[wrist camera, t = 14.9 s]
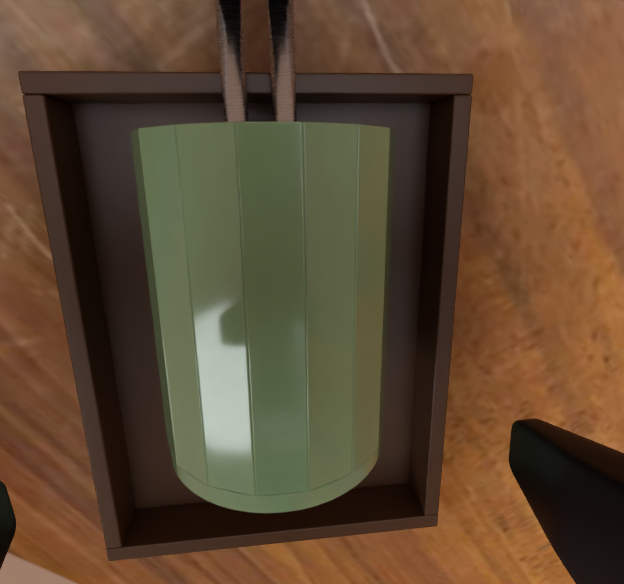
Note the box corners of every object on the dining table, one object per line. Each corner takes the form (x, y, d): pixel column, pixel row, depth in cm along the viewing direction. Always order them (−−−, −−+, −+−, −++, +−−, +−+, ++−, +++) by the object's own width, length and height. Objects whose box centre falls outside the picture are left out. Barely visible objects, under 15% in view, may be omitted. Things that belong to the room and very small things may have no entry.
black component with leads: (312, 384, 16) (314, -164, 8) (238, 390, 15) (174, -171, 8) (301, 320, 19) (296, -108, 12) (241, 324, 19) (197, -113, 11)
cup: (426, 460, 13) (451, 127, 11) (206, 555, 10) (161, 114, 7) (316, 372, 19) (314, 141, 16) (153, 415, 16) (117, 137, 13)
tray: (417, 484, 21) (437, 526, 18) (126, 512, 19) (107, 561, 17) (442, 87, 16) (474, 73, 13) (56, 86, 14) (16, 70, 12)
